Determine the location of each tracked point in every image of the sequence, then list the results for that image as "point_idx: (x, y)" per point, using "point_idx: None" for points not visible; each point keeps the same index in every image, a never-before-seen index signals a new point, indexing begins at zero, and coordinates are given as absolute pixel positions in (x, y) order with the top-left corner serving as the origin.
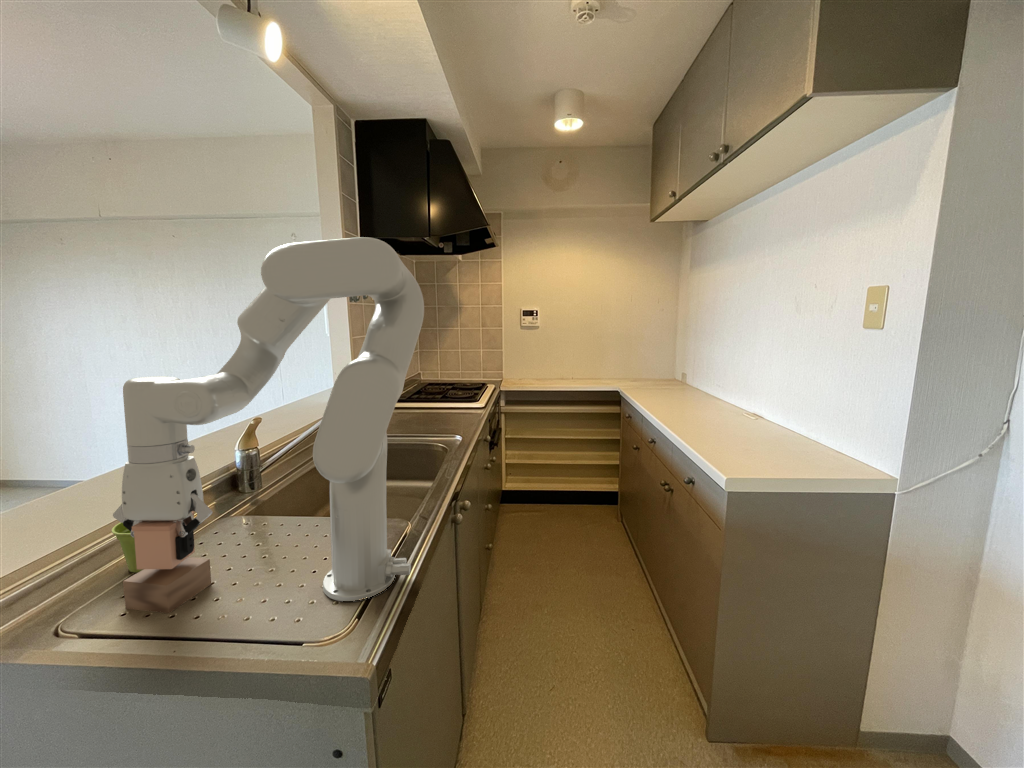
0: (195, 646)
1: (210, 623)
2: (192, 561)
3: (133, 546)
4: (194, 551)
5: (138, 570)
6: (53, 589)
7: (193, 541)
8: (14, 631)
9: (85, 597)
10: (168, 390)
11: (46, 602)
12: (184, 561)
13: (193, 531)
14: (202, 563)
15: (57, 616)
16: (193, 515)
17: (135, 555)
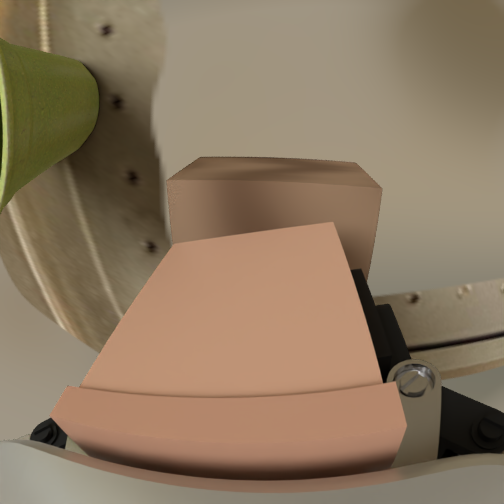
0: (448, 356)
1: (449, 310)
2: (320, 215)
3: (16, 191)
4: (333, 224)
5: (71, 153)
6: (8, 243)
7: (398, 330)
8: (94, 345)
9: (77, 260)
10: None
11: (41, 279)
12: (285, 220)
13: (356, 289)
14: (376, 224)
15: (104, 315)
16: (396, 397)
17: (39, 174)
